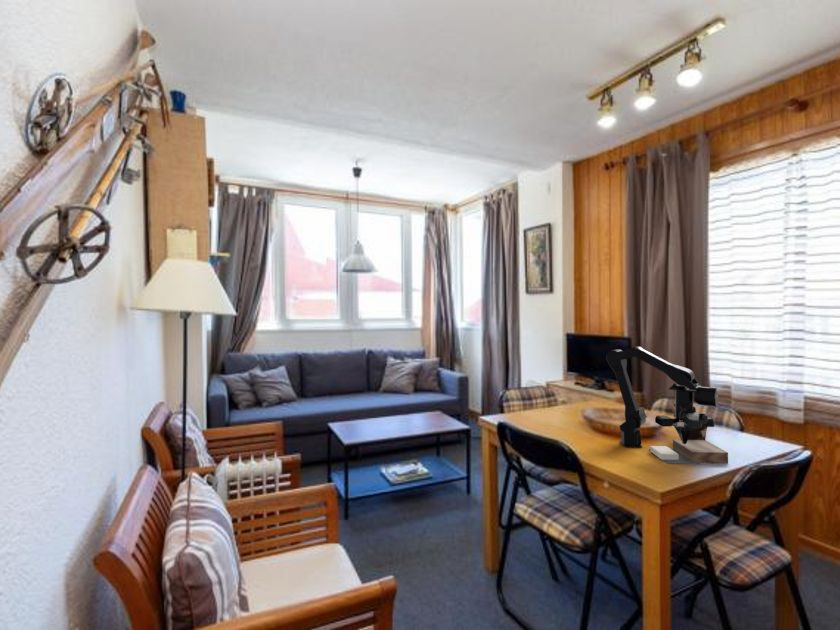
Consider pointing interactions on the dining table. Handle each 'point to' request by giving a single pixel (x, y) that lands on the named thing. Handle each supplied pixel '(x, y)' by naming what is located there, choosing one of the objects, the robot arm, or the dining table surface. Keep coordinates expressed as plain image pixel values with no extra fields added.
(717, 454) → the block
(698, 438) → the coffee mug
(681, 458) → the charcoal mat
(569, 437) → the dining table surface
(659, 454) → the ceramic tile
